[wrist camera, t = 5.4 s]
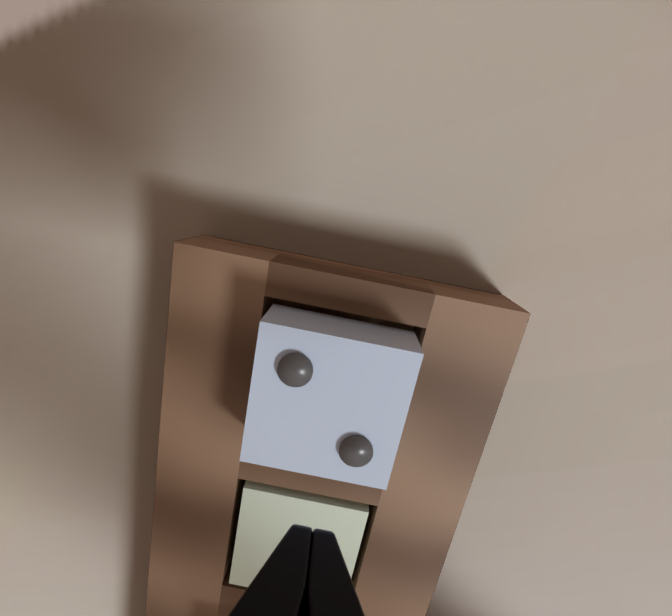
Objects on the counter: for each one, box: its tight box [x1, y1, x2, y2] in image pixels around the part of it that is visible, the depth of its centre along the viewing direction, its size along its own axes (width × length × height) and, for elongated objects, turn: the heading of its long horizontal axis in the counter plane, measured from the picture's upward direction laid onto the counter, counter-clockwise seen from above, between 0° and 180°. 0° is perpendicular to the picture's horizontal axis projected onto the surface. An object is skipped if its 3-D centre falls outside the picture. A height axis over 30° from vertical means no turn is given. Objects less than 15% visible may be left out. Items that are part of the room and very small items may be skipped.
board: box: [145, 235, 530, 616], centre depth 17 cm, size 23×12×2 cm, turn 169°
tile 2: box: [239, 304, 424, 490], centre depth 13 cm, size 5×5×2 cm
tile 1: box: [229, 480, 369, 587], centre depth 17 cm, size 5×5×2 cm
